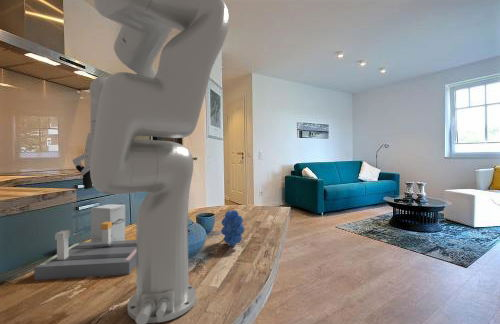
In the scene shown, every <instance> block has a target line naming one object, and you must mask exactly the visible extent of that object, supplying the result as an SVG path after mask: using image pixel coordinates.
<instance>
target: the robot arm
mask: <svg viewBox="0 0 500 324" xmlns="http://www.w3.org/2000/svg"><path fill="white" fill-rule="evenodd" d="M93 3H94V7H95V9H96V11H97V12H98V13H99V14H100V15H101V16H102V17H103V18H106V19H108V20H111V21H114V22H116V23H118V24H121V27H120V29H119V32H118V34H117V36H116V39H115V41H114V44H113V51H114V53H115V55H116V57H117V58H118V60H119V61H120V62H121V63H122V64H123V65H125V67H127V68H129V69H130V70H131V71H132V72H134V73H132V72H126V71H125V72H124V71H122V72H115V73H113V74H111V75H110V76H109V77H104V76H97V77H96V78H94V79H93V81H91V82H90V85H89V97H90V98H89V100H90V101H89V102H90V105H89V107H90V110H89V111H90V112H89V113H90V114H89V116H90V122H89V123H90V125H89V128H90V130H89V133H87V136H86V139H85V146H84V147H85V148H84V154H81V155H79V156H78V157H75V158H72V163H73V164H74V166H75V169H76V170H77V171H78V172H79V173H80V175H82V186H83V189H84V190H88V189H89V190H90V189H92V188H93V187H94V189H95V190H96V191H97V192H99V193H101V194H105V195H127V194H137V193H145V192H146V193H147V194H146V195H145V197H144V199H143V200H142V202H141V203H140V205H139V208H138V209H137V213H136V220H135V221H136V223H135V225H136V235H135V236H136V239H135V240H136V258H137V265H136V292H135V293H134V294H133V295H132V296H131V297H130V298H129V300H128V302H127V307H126V309H127V311H126V312H127V314H128V316H129V317H130V319H132V320H134V321H135V323H136V324H158V323H164V322H168V321H171V320H174V319H176V318H179V317H181V316H183V315H184V314H185V313H187V312H188V311H190V310H191V309H192V308H193V307H194V306H195V304H196V301H197V291H196V288H195V287H194V286H193V285H192V284H190V283H189V203H190V202H189V199H190V191H191V190H190V189H191V183H192V179H193V174H194V160H193V159H194V157H193V155H192V153H191V151H190V150H189V149H188V148H187V147H186V146H185V145H183V144H181V143H178V142H175V141H170V140H169V141H168V140H154V139H135V138H136V137H138V136H142V137H154V138H169V139H181V138H187V137H189V136H191V135H192V134H193V133H194V131H195V129H196V127H197V125H198V122H199V118H200V114H201V112H202V111H201V110H202V108H203V104H204V100H205V95H206V93H207V89H208V85H209V81H210V78H211V77H210V76H211V72H212V69H213V67H214V64H215V62H216V60H217V58H218V55H219V54H220V53H221V50H222V47H223V46H224V44H225V43H224V42H225V40H226V38H227V34H228V30H229V21H230V17H229V16H230V15H229V10H228V8H227V5H226V3H225V1H224V0H93ZM173 29H175V30H177V31H179V33H178V32H177V34H176V35H174V36H173V37H172V38H171V39H170V40H169V41H168V42H166V41H167V39H168V38H169V36H170V34H171V32H172V31H173ZM165 43H166V44H165ZM160 52H161V53H160ZM159 53H160V57H159V62H158V67H157V70H156V69H155V67H154V62H155V61H156V59H157V57H158V55H159ZM83 161H84V165H82V162H83Z"/></svg>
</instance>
